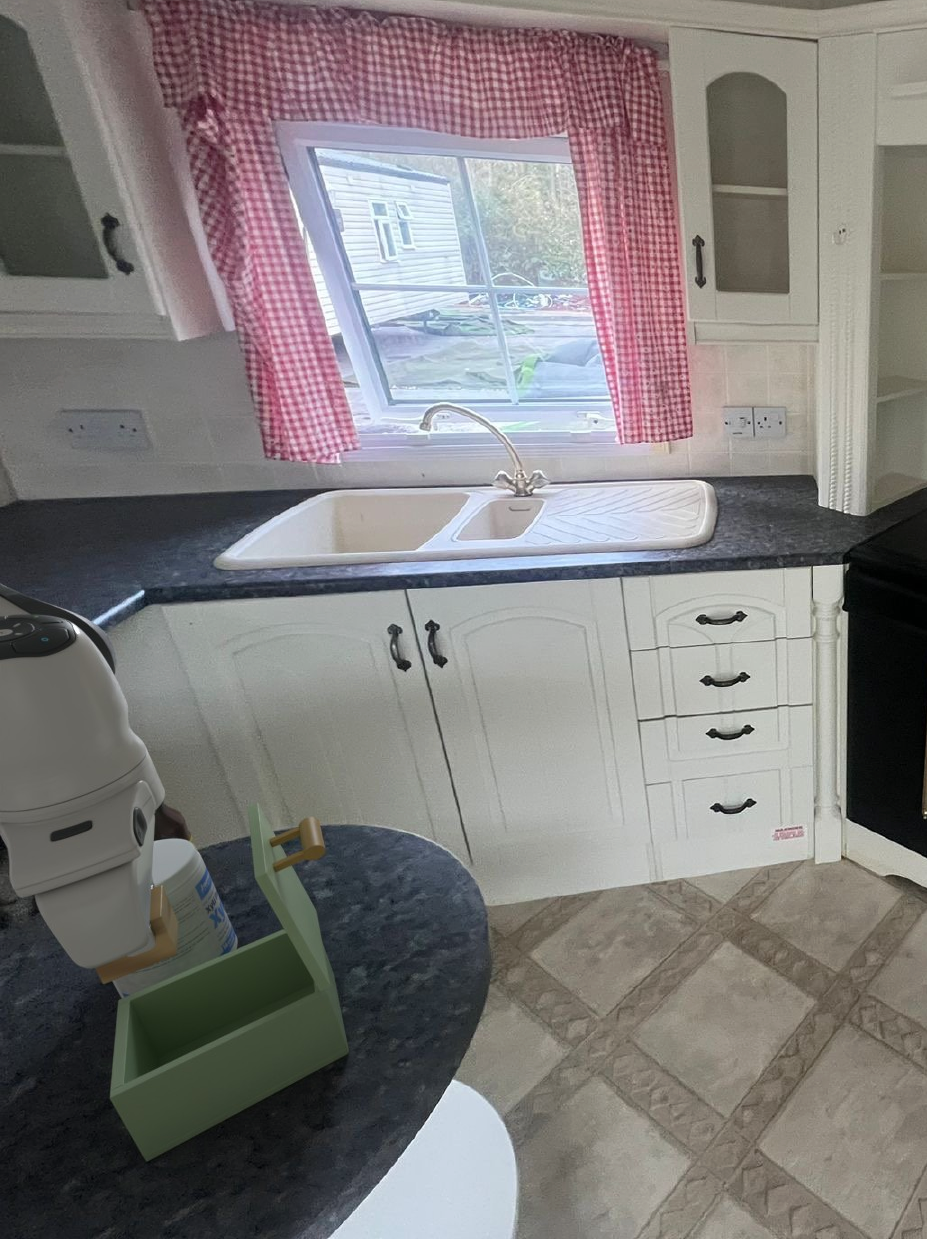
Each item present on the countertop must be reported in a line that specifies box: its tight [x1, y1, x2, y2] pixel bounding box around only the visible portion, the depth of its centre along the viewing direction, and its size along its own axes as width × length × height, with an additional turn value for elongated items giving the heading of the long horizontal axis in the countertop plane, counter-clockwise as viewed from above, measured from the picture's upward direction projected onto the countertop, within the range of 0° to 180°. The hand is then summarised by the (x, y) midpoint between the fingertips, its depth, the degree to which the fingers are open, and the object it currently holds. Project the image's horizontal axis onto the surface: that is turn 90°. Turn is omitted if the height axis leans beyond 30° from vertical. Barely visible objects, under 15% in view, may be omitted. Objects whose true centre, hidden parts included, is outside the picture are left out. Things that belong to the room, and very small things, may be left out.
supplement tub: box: [112, 839, 239, 999], centre depth 79 cm, size 10×10×15 cm
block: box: [94, 885, 178, 985], centre depth 65 cm, size 5×5×5 cm
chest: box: [109, 928, 350, 1162], centre depth 72 cm, size 15×12×9 cm
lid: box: [247, 802, 330, 992], centre depth 73 cm, size 15×12×5 cm
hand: (144, 925), depth 66 cm, fingers closed on block, 4 cm apart
